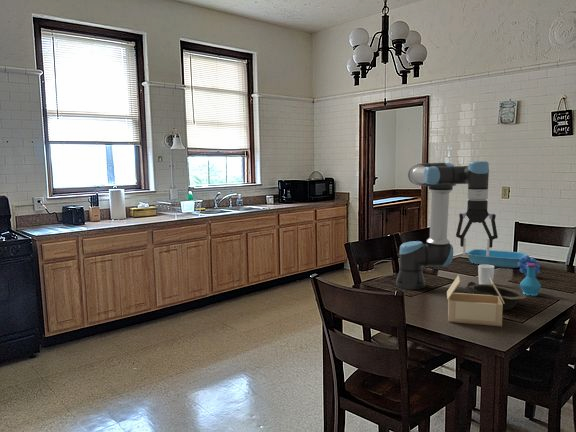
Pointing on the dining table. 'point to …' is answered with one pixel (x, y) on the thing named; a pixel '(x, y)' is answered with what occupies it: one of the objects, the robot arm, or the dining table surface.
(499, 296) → the flap
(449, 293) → the flap
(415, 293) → the dining table surface
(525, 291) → the perfume bottle
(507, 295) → the stone bowl
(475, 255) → the casserole dish
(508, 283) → the dining table surface
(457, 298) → the carton
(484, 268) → the white cup
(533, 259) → the grapes
